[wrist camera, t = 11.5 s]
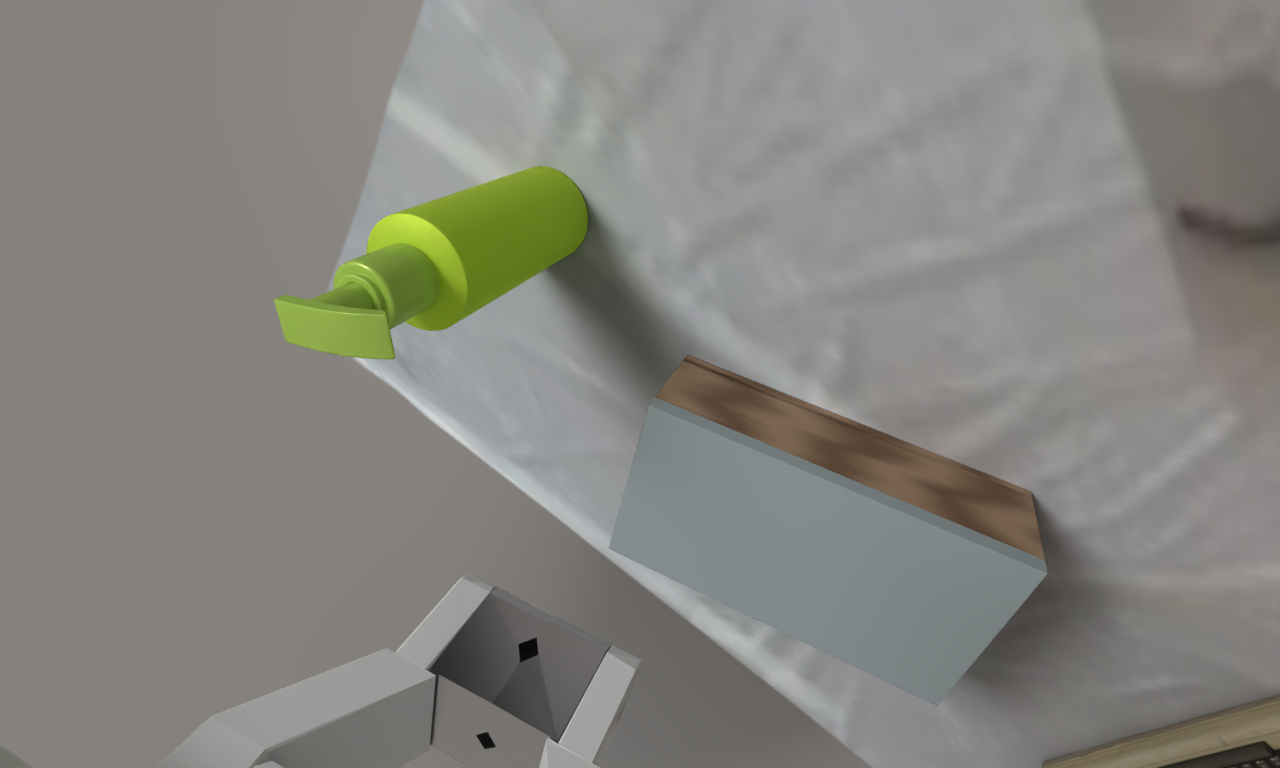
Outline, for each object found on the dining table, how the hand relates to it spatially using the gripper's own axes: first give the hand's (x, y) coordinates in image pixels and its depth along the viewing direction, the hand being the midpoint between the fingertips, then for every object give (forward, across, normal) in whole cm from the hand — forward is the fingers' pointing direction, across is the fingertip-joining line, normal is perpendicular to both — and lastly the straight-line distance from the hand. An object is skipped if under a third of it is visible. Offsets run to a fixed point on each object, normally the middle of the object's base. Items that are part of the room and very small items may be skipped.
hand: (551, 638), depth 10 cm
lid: (+25, -6, +18) cm, 31 cm away
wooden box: (+31, -6, +18) cm, 36 cm away
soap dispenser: (+31, +16, +6) cm, 36 cm away
